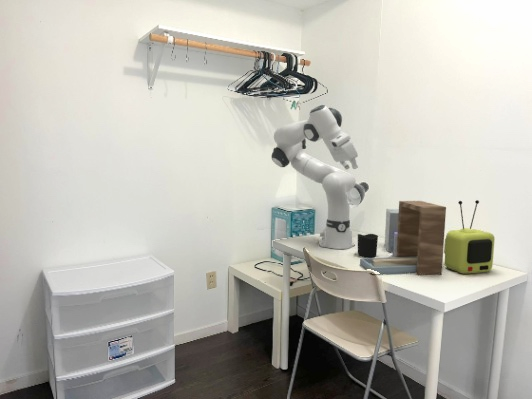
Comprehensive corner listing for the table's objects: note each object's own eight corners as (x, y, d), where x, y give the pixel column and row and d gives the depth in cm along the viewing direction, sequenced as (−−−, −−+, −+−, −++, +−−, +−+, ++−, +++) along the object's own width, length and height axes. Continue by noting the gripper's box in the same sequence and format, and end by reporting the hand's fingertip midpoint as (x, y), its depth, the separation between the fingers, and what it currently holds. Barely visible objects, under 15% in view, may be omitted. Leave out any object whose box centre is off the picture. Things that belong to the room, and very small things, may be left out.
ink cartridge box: (413, 257, 191) (414, 227, 189) (415, 260, 185) (416, 229, 184) (391, 256, 193) (393, 226, 191) (392, 259, 187) (394, 228, 186)
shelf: (396, 261, 183) (399, 200, 180) (416, 261, 185) (420, 200, 181) (419, 275, 164) (422, 207, 160) (441, 274, 165) (446, 207, 162)
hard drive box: (403, 253, 199) (405, 213, 197) (387, 252, 200) (389, 212, 198) (398, 245, 214) (400, 208, 212) (384, 245, 216) (385, 208, 213)
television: (463, 276, 163) (468, 203, 159) (433, 264, 180) (437, 197, 177) (497, 272, 168) (503, 201, 164) (465, 261, 185) (469, 196, 182)
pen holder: (373, 259, 187) (374, 238, 186) (354, 256, 192) (354, 235, 191) (379, 255, 195) (380, 234, 194) (360, 252, 200) (361, 232, 199)
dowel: (371, 266, 173) (371, 259, 172) (415, 264, 176) (415, 257, 175) (374, 268, 170) (374, 261, 169) (418, 266, 173) (419, 259, 172)
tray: (359, 265, 178) (360, 258, 177) (416, 263, 182) (417, 256, 181) (372, 275, 164) (373, 267, 163) (434, 272, 168) (434, 265, 167)
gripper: (322, 146, 180) (337, 172, 182) (337, 142, 160) (354, 172, 162) (333, 139, 181) (348, 165, 183) (350, 134, 161) (367, 164, 162)
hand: (351, 168), depth 172 cm, fingers open, 8 cm apart
